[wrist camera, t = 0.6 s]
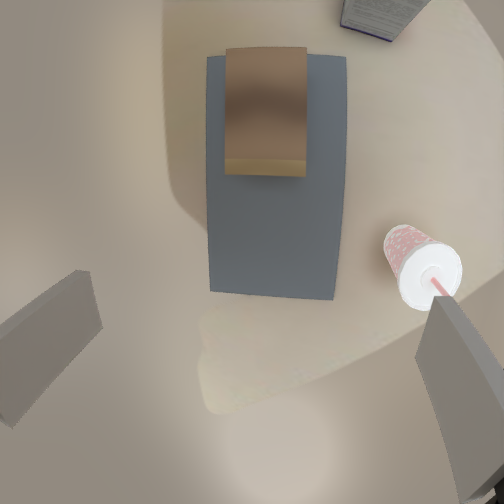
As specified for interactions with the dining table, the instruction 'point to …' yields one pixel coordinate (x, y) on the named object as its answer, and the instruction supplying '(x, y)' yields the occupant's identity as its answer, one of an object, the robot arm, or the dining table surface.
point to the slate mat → (279, 198)
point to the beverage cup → (421, 266)
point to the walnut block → (266, 111)
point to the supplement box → (380, 16)
